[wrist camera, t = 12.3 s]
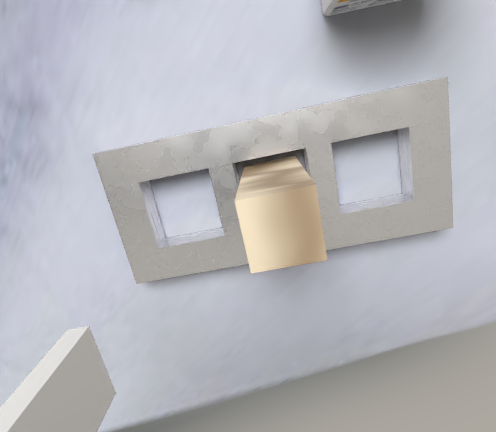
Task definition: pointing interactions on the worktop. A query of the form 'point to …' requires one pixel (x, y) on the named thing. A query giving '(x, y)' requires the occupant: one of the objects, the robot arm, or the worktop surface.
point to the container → (349, 5)
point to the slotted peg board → (317, 166)
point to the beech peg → (279, 215)
